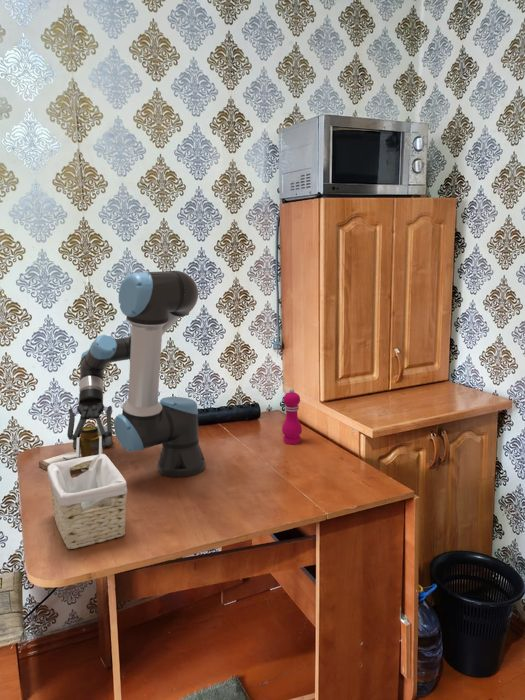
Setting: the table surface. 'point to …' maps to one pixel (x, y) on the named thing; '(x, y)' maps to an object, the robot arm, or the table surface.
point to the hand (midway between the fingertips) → (89, 457)
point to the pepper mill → (291, 418)
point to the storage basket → (88, 500)
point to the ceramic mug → (109, 439)
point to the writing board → (60, 458)
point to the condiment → (89, 442)
